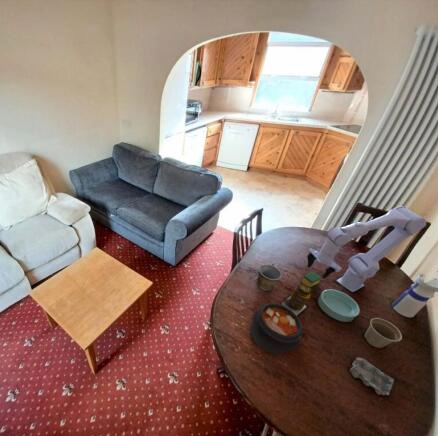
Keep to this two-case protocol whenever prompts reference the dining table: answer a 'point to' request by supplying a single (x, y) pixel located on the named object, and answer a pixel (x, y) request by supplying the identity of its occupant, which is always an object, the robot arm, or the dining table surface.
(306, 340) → the dining table surface
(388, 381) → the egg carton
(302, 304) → the condiment
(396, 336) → the flower pot
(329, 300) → the bowl
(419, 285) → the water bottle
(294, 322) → the casserole
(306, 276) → the sponge
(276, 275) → the ceramic cup
